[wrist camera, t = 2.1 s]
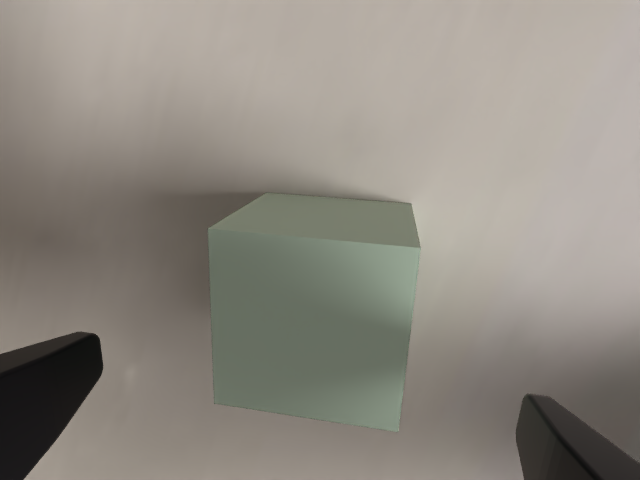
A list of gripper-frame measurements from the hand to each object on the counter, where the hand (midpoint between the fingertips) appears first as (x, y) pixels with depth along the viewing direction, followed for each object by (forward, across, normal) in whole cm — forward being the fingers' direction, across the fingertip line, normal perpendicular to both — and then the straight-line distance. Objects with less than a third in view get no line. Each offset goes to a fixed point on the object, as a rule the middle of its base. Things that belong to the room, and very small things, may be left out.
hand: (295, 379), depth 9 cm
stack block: (+7, 0, 0) cm, 7 cm away
